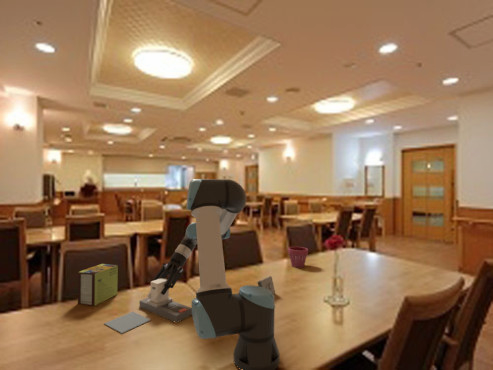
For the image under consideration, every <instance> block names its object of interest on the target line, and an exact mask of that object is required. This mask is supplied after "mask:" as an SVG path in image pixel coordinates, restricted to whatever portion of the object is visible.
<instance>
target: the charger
mask: <svg viewBox="0 0 493 370" xmlns="http://www.w3.org/2000/svg"><path fill="white" fill-rule="evenodd" d="M167 279H168V278H165V279H164V278H160V279H157V280H154V281H153V280H152V281H150V290H151V299H150V301H151V302H154V303H156V304H158V303H160V302H163V301H165V300H168V299H169V297H170V296H169V295H170V292H169V291H170V290H169V289H170V288H169V289H168V290H167V292H166V293H165V294H164V295H163V297H162V298H161V300H160V301H159V302H158V301H157V300H155V297H156V296H157V294H158V293H159V291H160V290H161V288H162V286H164V284H166V281H167Z"/></svg>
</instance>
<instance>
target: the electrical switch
mask: <svg viewBox="0 0 493 370" xmlns="http://www.w3.org/2000/svg"><path fill="white" fill-rule="evenodd" d="M257 286H260V287H263V288H266V289H268V290H269V291H271V292H272V293H273V295H275V294H276V289H275V285H274V281H273V277H272V275H269V276H267V277H265V278H263V279H262V278H261V279H260V280H258V281H257Z"/></svg>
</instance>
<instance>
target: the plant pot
mask: <svg viewBox="0 0 493 370" xmlns="http://www.w3.org/2000/svg"><path fill="white" fill-rule="evenodd" d="M287 253H288V254H289V259H290V264H291V265H290V266H291V267H293V268H300V269H301V268H305V264H306V259H307V256H308V255H309V249H308V248H307V247H303V246H288V249H287Z"/></svg>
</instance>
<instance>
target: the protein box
mask: <svg viewBox="0 0 493 370" xmlns="http://www.w3.org/2000/svg"><path fill="white" fill-rule="evenodd" d="M118 266H119V265H117V264H109V263H108V264H107V263H101V264H98V265H94V266H92V267H91V266H90V267H88V268H86V269H83V270H80V271H78V273H77V303H78V305H79V304H80V305H87V306H92V307H93V306H94V307H95V306H97V305H100V304H101V303H103V302H105V301H108V300H109V299H111V298H113V297H114V296H117V295H118V281H119V279H118V277H119V276H118V274H119V272H118V271H119V270H118V269H119V267H118Z"/></svg>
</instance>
